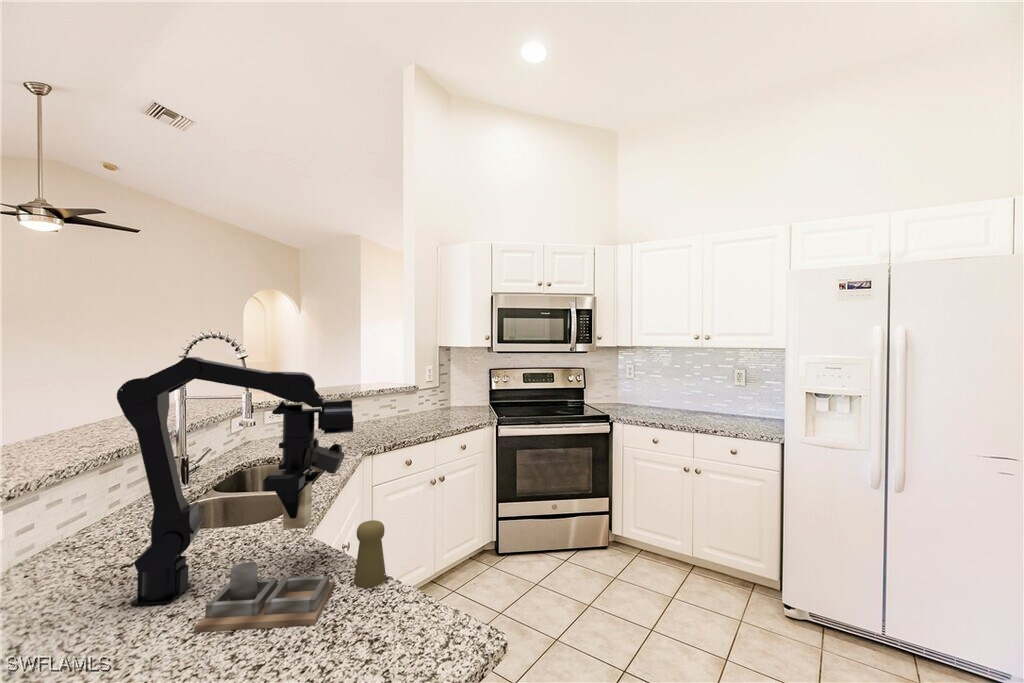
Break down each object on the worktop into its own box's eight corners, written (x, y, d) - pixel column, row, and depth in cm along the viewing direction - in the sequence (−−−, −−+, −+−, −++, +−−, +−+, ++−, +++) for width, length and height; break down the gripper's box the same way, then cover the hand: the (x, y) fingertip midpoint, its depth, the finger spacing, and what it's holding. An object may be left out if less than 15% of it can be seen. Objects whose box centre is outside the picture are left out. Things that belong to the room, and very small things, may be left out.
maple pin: (282, 529, 88) (283, 487, 88) (290, 521, 92) (291, 481, 92) (304, 528, 88) (305, 486, 89) (311, 520, 92) (311, 481, 92)
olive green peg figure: (376, 589, 84) (377, 529, 84) (347, 586, 85) (348, 527, 85) (391, 574, 90) (392, 518, 90) (363, 571, 91) (364, 515, 91)
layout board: (194, 632, 71) (195, 586, 71) (232, 592, 83) (233, 553, 83) (314, 624, 73) (315, 580, 73) (334, 586, 85) (335, 549, 85)
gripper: (327, 443, 82) (325, 530, 82) (351, 427, 101) (350, 498, 100) (262, 445, 81) (260, 533, 80) (299, 428, 99) (297, 499, 99)
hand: (297, 514), depth 90 cm, fingers closed on maple pin, 4 cm apart
